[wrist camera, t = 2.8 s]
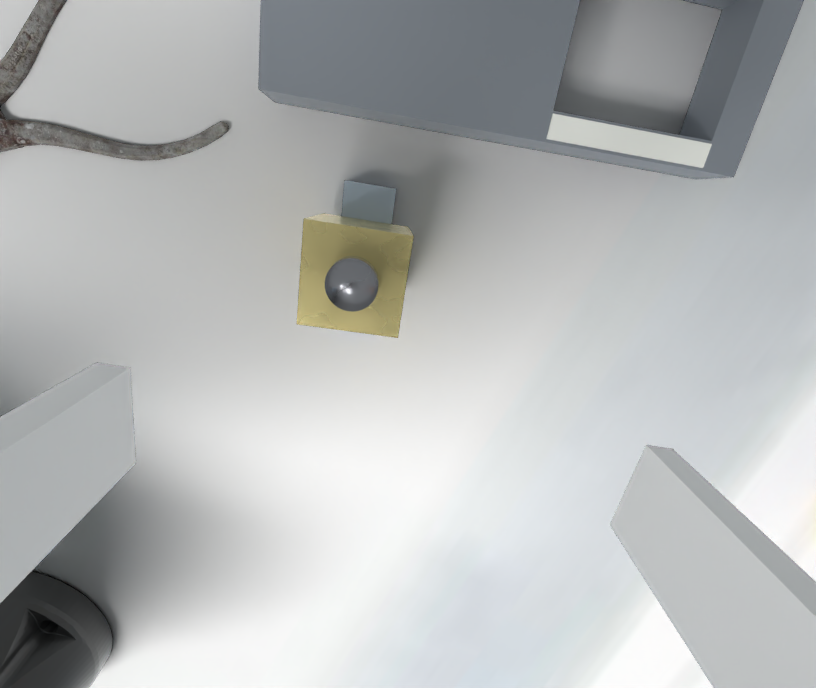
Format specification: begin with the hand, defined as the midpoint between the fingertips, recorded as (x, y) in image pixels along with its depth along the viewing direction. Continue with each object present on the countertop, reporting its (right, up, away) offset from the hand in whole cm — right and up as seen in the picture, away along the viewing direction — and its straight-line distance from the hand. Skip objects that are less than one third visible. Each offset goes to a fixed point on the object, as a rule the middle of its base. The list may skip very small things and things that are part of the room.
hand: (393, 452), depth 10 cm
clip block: (-2, +8, +14) cm, 17 cm away
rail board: (+6, +20, +12) cm, 24 cm away
